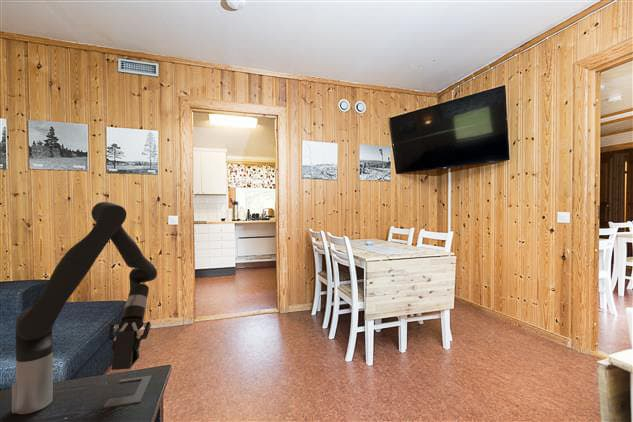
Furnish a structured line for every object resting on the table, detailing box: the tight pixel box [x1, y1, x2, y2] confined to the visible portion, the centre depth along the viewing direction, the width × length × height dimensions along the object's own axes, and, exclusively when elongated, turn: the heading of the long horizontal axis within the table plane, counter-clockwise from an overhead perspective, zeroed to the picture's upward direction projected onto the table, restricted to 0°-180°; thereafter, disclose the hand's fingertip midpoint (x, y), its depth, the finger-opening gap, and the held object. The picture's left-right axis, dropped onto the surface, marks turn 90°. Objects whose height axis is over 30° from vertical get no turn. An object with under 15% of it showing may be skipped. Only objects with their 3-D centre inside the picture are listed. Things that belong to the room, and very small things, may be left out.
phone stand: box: [110, 330, 140, 371], centre depth 112 cm, size 9×6×12 cm, turn 10°
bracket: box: [103, 375, 152, 409], centre depth 111 cm, size 11×17×1 cm, turn 17°
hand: (124, 351), depth 110 cm, fingers closed on phone stand, 6 cm apart
